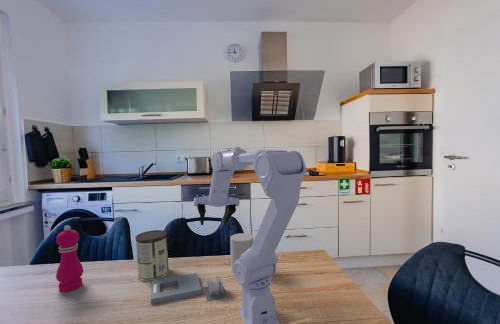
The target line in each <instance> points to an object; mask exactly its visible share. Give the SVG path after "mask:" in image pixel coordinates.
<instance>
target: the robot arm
mask: <svg viewBox="0 0 500 324" xmlns="http://www.w3.org/2000/svg"><path fill="white" fill-rule="evenodd" d="M210 157H211V159H210V163H211V167H212V173H211V174H212V175H211V181H210V186H209V194H208V195H204V196H199V197H198V196H197V197H194V198H193V207H196V208H197V211H198V214H199V217H200V219H199V220H200V222H199V223H200V225H201V226H204V223H205V215H206V212H207V210H206V206H211V207H216V208H223V207H224V214H223V219H222V222H223V225H225V226H227V223H228V221H229V219H231V218H232V216H233V215H234V214H235V213H236V212H237V207H240V203H241V202H240V198H238V197H237V198H236V197H231V196H228V194H229V189H230V184H231V178H232V176H233V175H234V174H235V171H244V170H245V169H247V168H248V166H252V168H253V171H254V172H255V174H256V176H257V177H256V178H257V179H258V181H259V183H260V186H261V188H262V190H263V192H264V195H265V196H266V197H268V198H270V201H269V203H268V206H267V208H266V211H265V214H264V216H263V219H262V220H261V224H260V226H259V228H258V230H257V233H256V235H255V238H254V239H253V245H252V247H251V248H250V249H248V250H247V251H246V252H244V253H243V254H242V255H241V256H240V258H239V259H238V260H236V262H235V265H234V273H233V274H234V277H235V279H236V281H237V283H238V284H240V285H241V302H242V305H241V306H239V307H237V311H238V313H239V315H240V318H241V319H242V321H243V323H244V324H280V321H279V320H278V318H277V317H276V300H275V297H274V295H273V293H272V291H271V282H272V281H273V276H274V275H275V274H276V272H277V264H278V261H279V257H278V256H277V253H276V250H277V248H278V245H279V243H280V241H281V239H282V237H283V235H284V233H285V231H286V230H287V227H288V226H289V223H290V221H291V220H292V219H291V218H292V217H293V215H294V212H295V211H296V209H297V206H298V204H299V200H300V195H301V187H302V186H301V185H302V183H303V181H304V178H305V176H306V173H307V171H308V170H307V167H306V164H305V163H306V162H305V160H304V157H303V155H302V154H301V153H300V152H299V151H298V150H297V151H296V150H290V151H288V150H284V149H258V150H253V151H248V152H247V151H246V150H245V149H242V148H241V147H240V146H239V147H238V146H236V147H232V149H229V148H228V149H227V148H226V149H225V150H224V151H218V150H215V151H214V152H213V153H212V154H211V156H210Z"/></svg>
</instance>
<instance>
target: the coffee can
mask: <svg viewBox="0 0 500 324" xmlns="http://www.w3.org/2000/svg"><path fill="white" fill-rule="evenodd" d="M134 238H135V244H136V249H135V250H136V263H137V266H136V267H137V279H138V280H139V281H141V282H147V281H153V280H158V279H162V278H163V277H165V276H166V275H168V274H169V271H170V270H169V256H168V255H169V254H168V251H169V250H168V231H165V230H162V229H161V230H159V229H157V230H153V229H152V230H148V231H143V232H140V233H139V234H137V235H136V236H135V237H134Z"/></svg>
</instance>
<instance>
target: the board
mask: <svg viewBox="0 0 500 324" xmlns="http://www.w3.org/2000/svg"><path fill="white" fill-rule="evenodd" d="M172 286H177V287H178V288H177V289H171V290H165V291H161V288H167V287H172ZM200 295H202V286H201V283H200V280H199V277H198V273H197V272H193V273H187V274H183V275H177V276H176V275H175V276H171V277H165V278H158V279H155V280H151V292H150V304H151V305H154V304H159V303H165V302H169V301H174V300H179V299H184V298H190V297H194V296H200Z"/></svg>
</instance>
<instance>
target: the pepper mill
mask: <svg viewBox="0 0 500 324" xmlns="http://www.w3.org/2000/svg"><path fill="white" fill-rule="evenodd" d="M71 228H72V227H71V226H70V225H64V227H63V231H61V232H59V233H58V234H57V236H56V240H55V241H56V244H57V245H58V246H59V247H58V252H59V253H60V262H59V265H58V267H57V269H56V274H55V279H56V281H58V282H59V283H58V291H60V292H71V291H74V290H77V289H78V288H80V287H81V286H82V285H83V278H82V275H83V274H84V267H83V265H82V264H83V263H81V261H80V259H79V257H78V253H77V250H78V249H79V248H78V247H79V244H78V241H79V240H80V234H79V233H78V231H77V230H75V229H71Z"/></svg>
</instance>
